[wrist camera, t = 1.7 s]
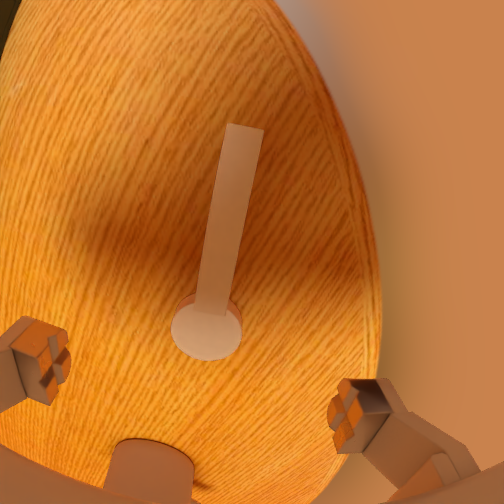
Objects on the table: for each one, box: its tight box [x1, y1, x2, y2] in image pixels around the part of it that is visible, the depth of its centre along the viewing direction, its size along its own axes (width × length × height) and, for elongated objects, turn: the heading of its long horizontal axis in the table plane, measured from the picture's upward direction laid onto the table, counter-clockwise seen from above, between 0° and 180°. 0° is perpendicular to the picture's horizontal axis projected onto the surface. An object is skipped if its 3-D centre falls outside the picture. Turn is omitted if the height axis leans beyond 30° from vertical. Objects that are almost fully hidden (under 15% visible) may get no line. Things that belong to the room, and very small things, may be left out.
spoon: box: [171, 123, 264, 361], centre depth 17 cm, size 14×4×2 cm, turn 168°
